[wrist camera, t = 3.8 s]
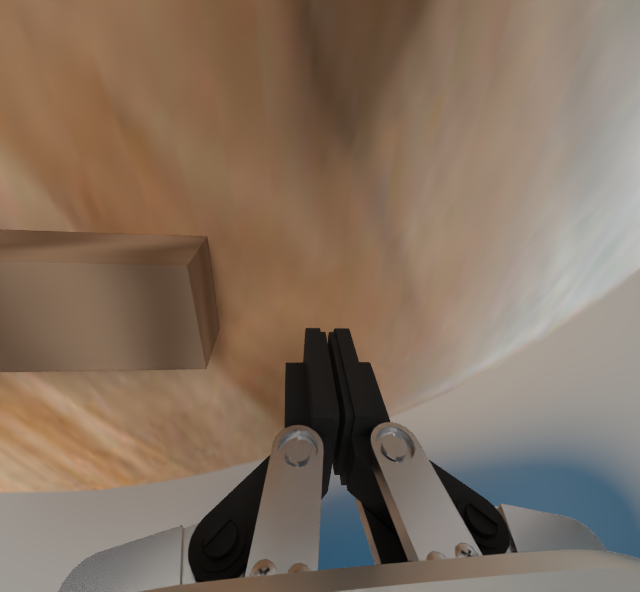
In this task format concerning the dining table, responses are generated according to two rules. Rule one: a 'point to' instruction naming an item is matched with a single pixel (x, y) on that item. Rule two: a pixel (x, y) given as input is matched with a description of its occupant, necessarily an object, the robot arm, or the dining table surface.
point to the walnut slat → (105, 302)
